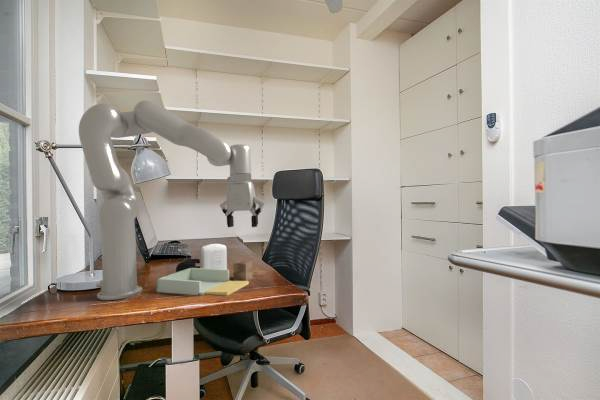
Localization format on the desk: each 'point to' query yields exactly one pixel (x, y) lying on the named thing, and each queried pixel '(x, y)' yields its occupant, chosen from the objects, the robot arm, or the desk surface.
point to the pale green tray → (192, 281)
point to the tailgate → (227, 288)
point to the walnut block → (242, 270)
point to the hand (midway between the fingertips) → (242, 226)
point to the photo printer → (214, 256)
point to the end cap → (187, 264)
